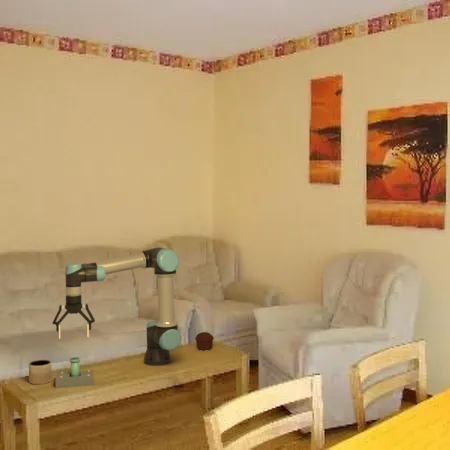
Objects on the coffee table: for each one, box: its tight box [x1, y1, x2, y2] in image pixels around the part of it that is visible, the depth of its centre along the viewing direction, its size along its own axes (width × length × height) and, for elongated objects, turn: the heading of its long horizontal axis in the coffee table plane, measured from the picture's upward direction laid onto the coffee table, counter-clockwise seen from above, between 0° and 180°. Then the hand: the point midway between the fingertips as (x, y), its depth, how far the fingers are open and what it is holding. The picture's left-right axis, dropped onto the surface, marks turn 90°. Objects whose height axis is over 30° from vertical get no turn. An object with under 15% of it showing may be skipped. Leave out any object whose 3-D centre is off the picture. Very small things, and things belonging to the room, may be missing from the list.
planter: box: [28, 359, 53, 385], centre depth 288 cm, size 11×11×10 cm
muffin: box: [194, 331, 215, 352], centre depth 350 cm, size 12×11×10 cm
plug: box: [69, 357, 81, 377], centre depth 286 cm, size 5×5×12 cm
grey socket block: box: [55, 369, 95, 389], centre depth 286 cm, size 18×12×5 cm, turn 103°
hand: (74, 337), depth 285 cm, fingers open, 13 cm apart
